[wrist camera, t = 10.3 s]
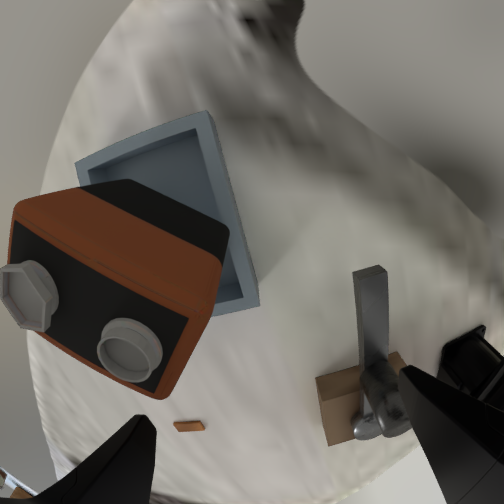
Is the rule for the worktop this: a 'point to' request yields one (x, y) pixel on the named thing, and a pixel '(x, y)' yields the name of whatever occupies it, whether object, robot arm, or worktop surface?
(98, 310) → the battery
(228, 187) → the tray
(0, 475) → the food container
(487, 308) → the worktop surface
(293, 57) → the worktop surface
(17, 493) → the bread
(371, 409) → the crank
